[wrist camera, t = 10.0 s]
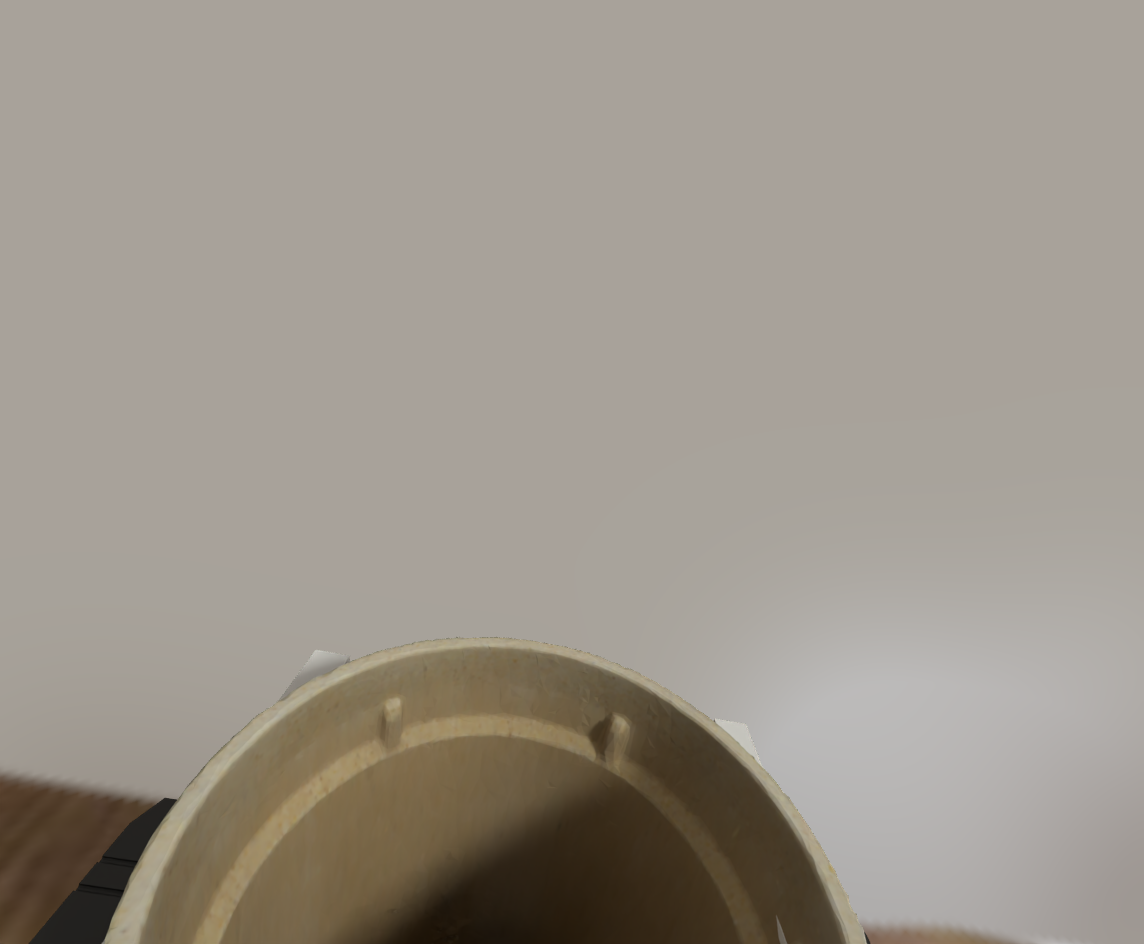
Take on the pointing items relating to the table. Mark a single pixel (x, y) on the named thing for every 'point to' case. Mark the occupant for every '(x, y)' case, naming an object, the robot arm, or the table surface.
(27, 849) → the table surface
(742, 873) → the flower pot
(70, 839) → the table surface
